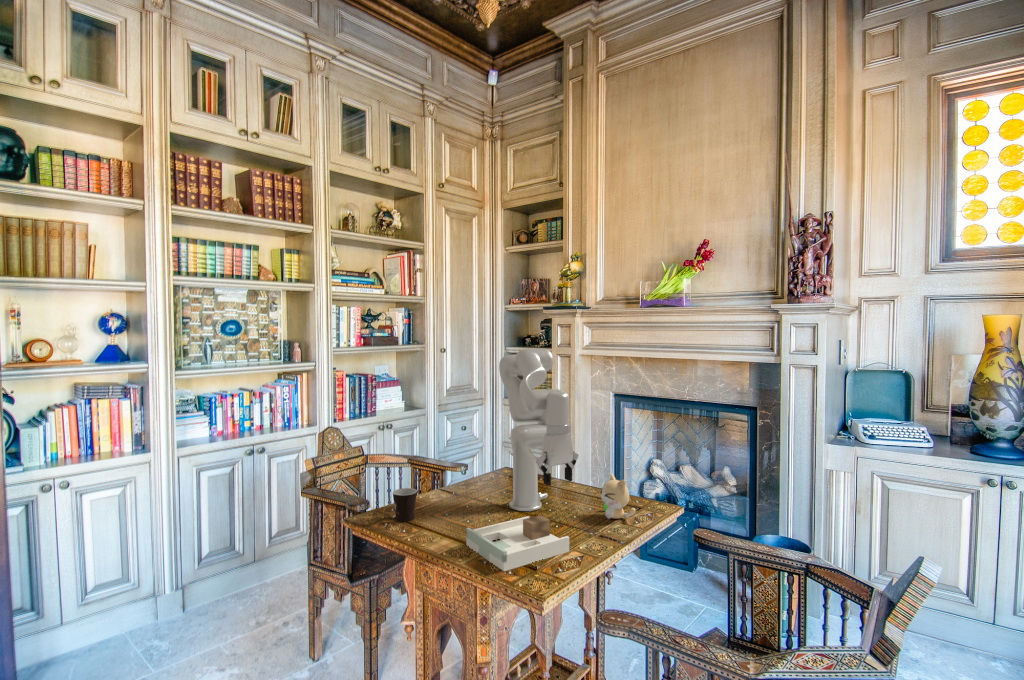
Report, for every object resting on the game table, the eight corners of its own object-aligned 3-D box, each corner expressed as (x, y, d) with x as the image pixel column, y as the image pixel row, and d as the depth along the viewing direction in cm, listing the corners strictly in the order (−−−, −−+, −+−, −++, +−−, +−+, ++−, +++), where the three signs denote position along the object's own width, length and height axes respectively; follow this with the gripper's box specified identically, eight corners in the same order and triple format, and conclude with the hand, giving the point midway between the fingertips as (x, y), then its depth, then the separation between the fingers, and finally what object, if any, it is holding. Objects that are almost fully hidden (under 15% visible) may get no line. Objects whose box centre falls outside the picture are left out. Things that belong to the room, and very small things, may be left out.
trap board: (528, 529, 180) (527, 513, 180) (569, 551, 162) (569, 533, 162) (466, 545, 167) (466, 528, 167) (503, 571, 149) (503, 552, 148)
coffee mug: (396, 514, 195) (396, 488, 195) (419, 515, 195) (419, 488, 195) (387, 526, 183) (387, 498, 183) (412, 526, 183) (412, 498, 183)
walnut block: (540, 530, 172) (540, 515, 172) (549, 535, 168) (549, 519, 168) (523, 535, 169) (522, 519, 169) (532, 540, 164) (532, 524, 164)
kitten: (593, 511, 198) (593, 472, 197) (617, 509, 200) (617, 469, 200) (611, 525, 183) (611, 482, 183) (636, 522, 186) (636, 480, 186)
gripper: (570, 425, 181) (571, 475, 181) (529, 430, 171) (529, 484, 171) (585, 428, 175) (585, 480, 175) (543, 434, 165) (543, 489, 165)
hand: (557, 482), depth 173 cm, fingers open, 8 cm apart
